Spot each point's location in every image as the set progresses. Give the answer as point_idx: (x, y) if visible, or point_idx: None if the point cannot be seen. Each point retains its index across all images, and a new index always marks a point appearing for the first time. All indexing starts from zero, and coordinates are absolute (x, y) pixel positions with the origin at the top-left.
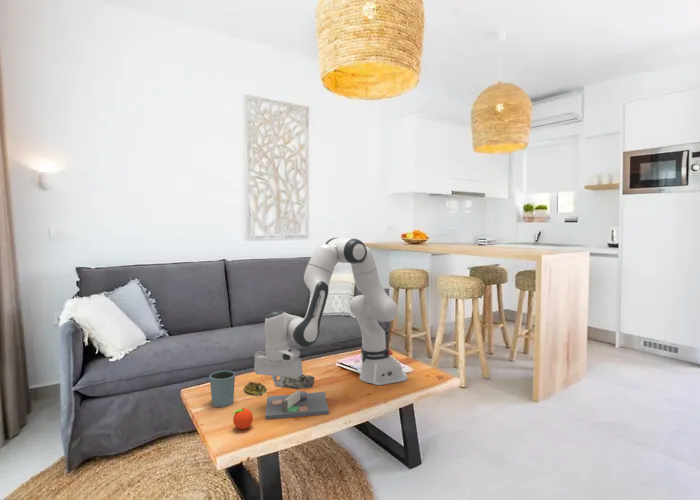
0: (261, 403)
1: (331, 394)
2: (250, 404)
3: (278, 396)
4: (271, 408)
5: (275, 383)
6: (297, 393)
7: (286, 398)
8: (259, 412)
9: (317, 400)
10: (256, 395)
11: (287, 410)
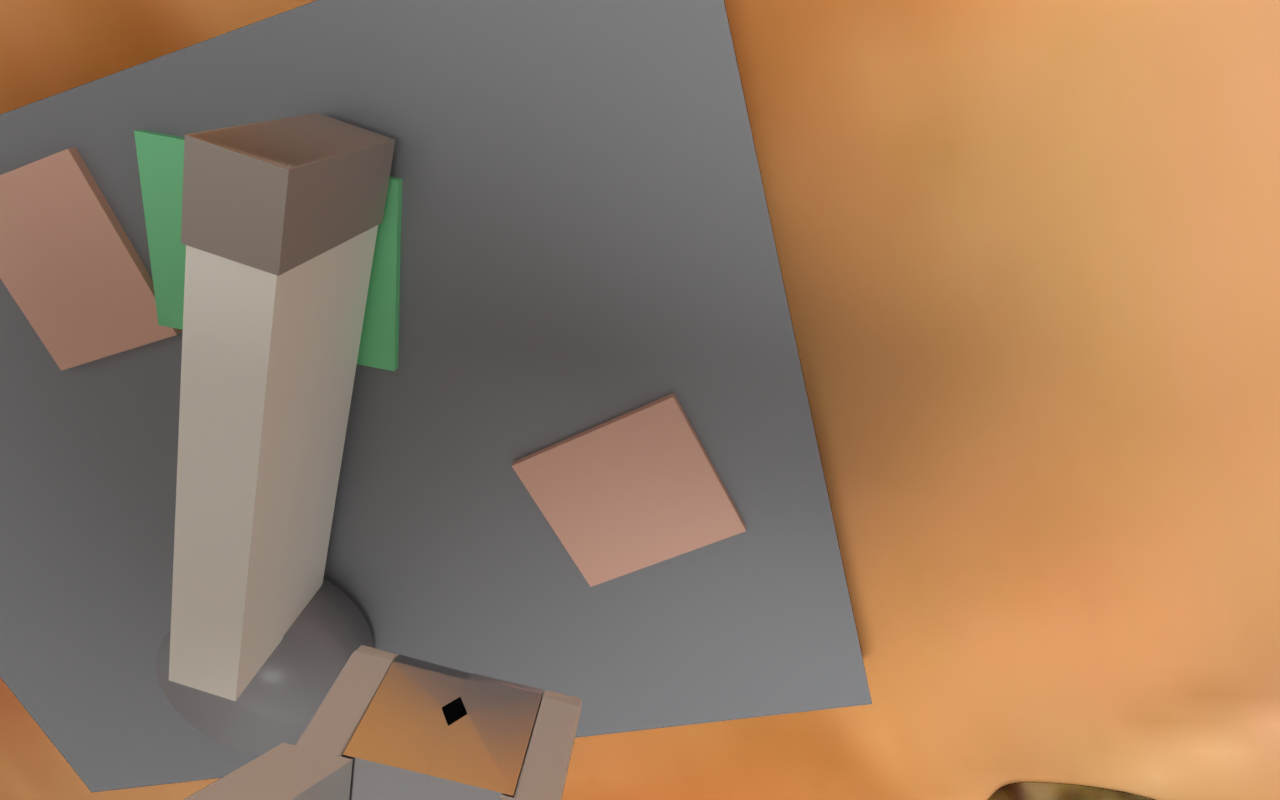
0: (941, 556)
1: (61, 765)
2: (1139, 523)
3: (684, 697)
4: (665, 260)
5: (523, 762)
6: (178, 598)
7: (256, 339)
8: (906, 223)
9: (31, 562)
10: (1077, 788)
11: None
